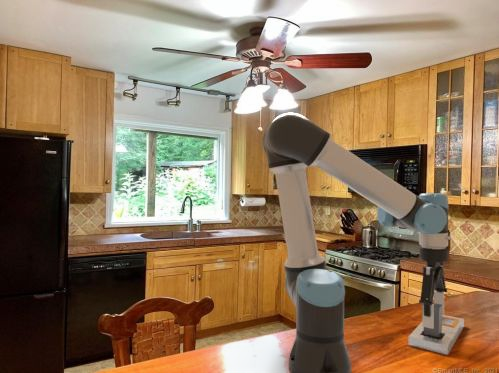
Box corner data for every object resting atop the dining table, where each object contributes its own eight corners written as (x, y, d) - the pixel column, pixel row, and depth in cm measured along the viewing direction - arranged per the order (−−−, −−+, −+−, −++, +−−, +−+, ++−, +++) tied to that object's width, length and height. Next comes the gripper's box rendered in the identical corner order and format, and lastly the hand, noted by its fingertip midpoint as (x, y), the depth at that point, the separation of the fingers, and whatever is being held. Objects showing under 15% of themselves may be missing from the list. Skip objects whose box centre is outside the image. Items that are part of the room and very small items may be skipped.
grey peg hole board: (408, 345, 107) (408, 335, 107) (430, 319, 127) (430, 311, 127) (447, 355, 101) (447, 345, 101) (463, 326, 121) (464, 318, 121)
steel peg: (423, 343, 108) (423, 305, 108) (426, 338, 111) (427, 301, 111) (438, 347, 106) (439, 308, 106) (441, 342, 109) (442, 304, 109)
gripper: (438, 254, 96) (438, 337, 96) (456, 242, 116) (456, 311, 116) (407, 251, 101) (407, 330, 101) (429, 240, 120) (430, 306, 121)
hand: (433, 320), depth 108 cm, fingers open, 13 cm apart
